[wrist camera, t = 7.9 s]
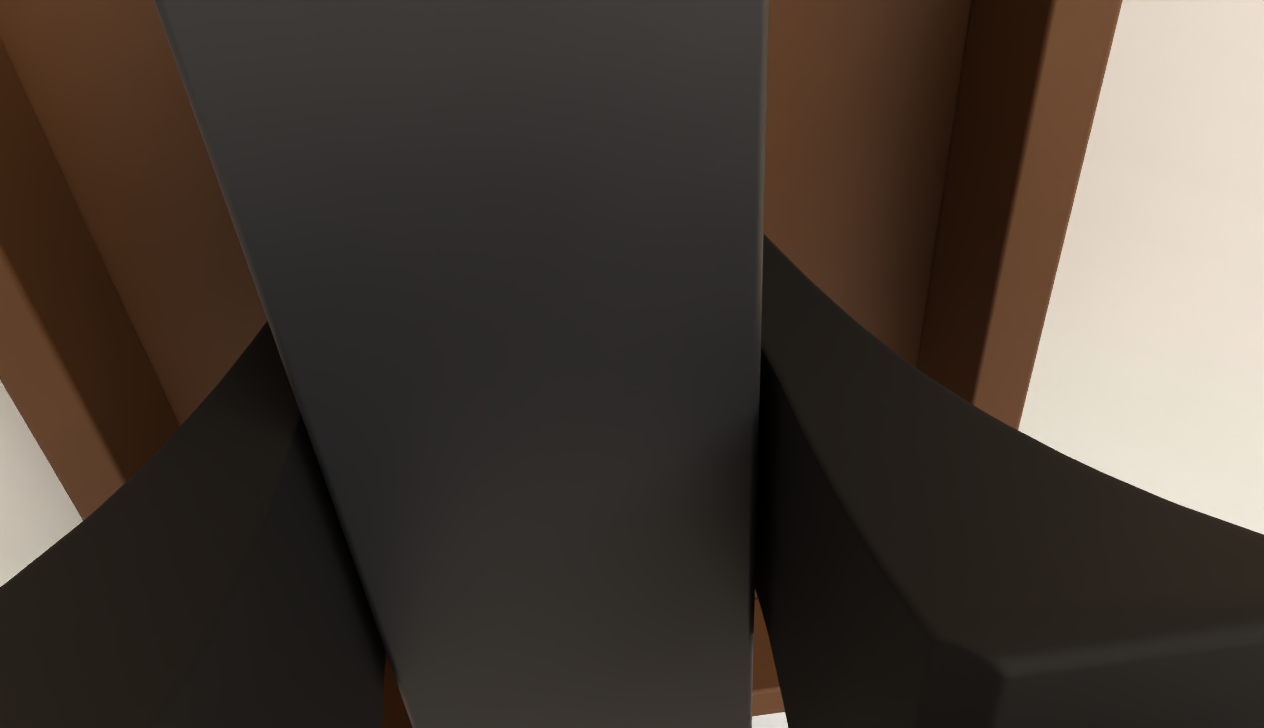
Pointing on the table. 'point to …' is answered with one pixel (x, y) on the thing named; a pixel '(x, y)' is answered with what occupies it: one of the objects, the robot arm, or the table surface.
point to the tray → (793, 211)
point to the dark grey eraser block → (515, 328)
